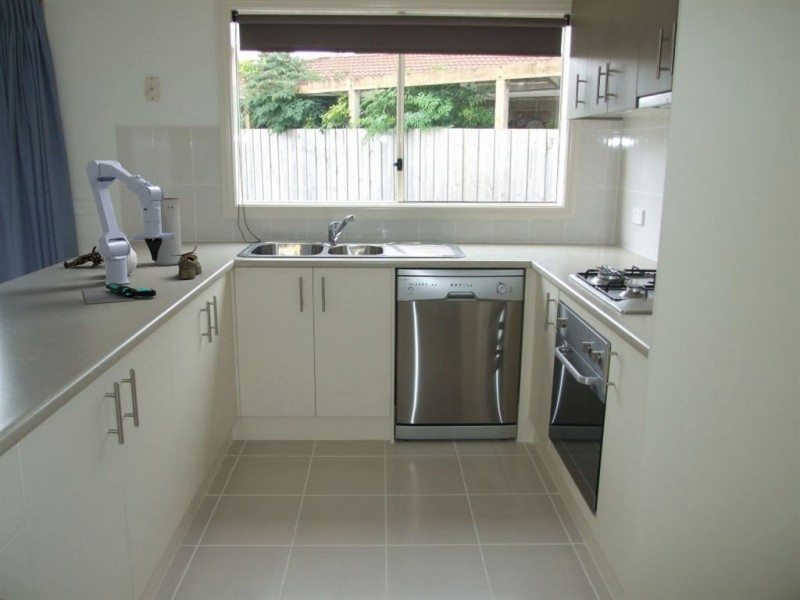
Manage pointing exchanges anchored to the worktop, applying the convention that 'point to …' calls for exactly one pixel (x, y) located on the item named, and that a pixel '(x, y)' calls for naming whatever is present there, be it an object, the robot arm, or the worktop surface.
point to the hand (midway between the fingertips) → (154, 260)
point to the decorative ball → (130, 261)
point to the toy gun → (131, 291)
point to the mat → (103, 296)
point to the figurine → (86, 259)
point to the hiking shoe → (188, 265)
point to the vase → (170, 225)
